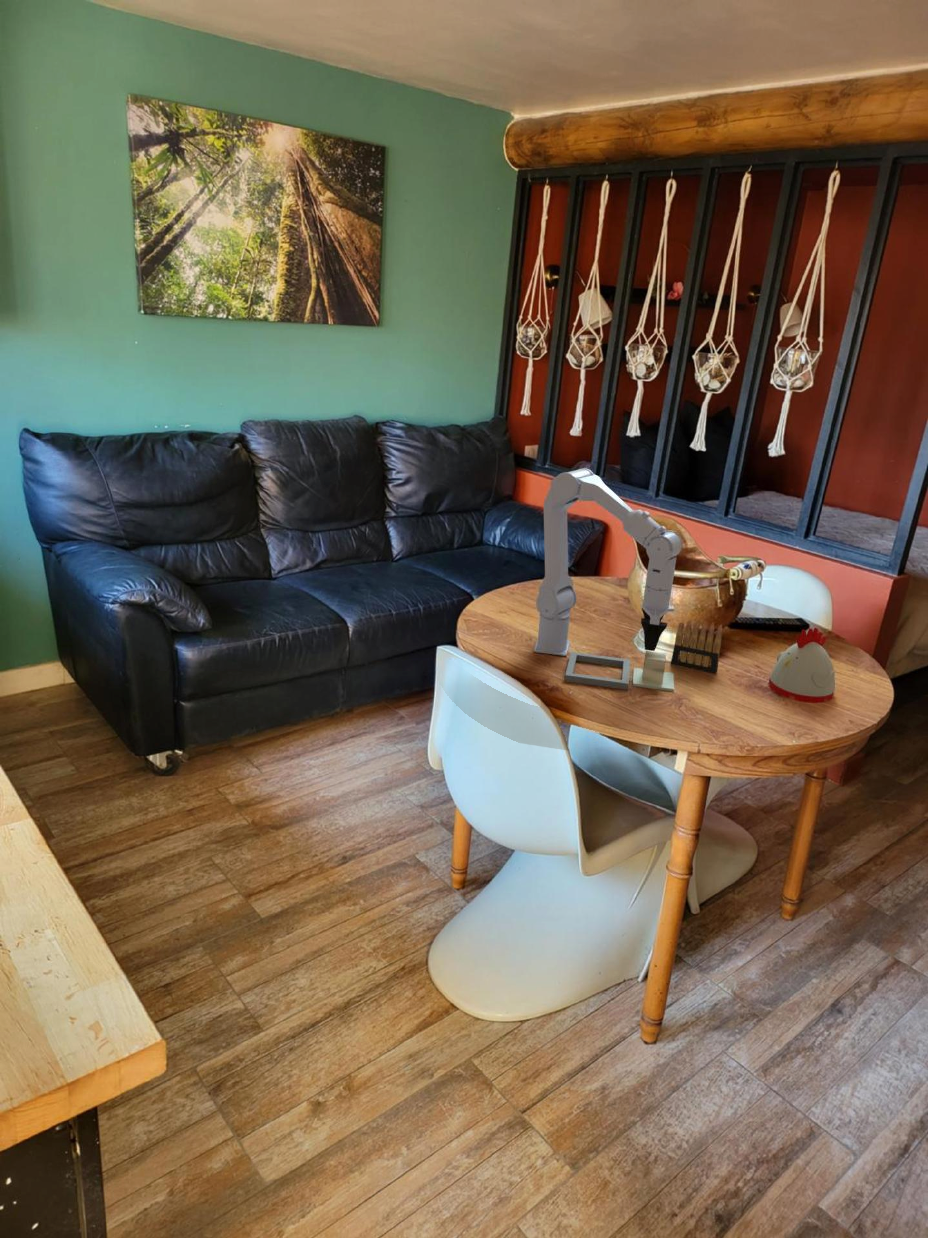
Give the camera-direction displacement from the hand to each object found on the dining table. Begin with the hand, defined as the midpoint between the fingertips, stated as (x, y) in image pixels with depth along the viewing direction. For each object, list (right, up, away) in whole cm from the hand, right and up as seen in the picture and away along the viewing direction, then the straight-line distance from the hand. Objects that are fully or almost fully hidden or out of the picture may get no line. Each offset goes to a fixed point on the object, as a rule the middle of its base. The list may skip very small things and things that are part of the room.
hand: (649, 643), depth 187 cm
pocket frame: (-11, -7, +4) cm, 14 cm away
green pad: (+1, -9, +2) cm, 9 cm away
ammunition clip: (+13, -6, +10) cm, 17 cm away
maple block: (+1, -8, +2) cm, 8 cm away
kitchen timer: (+35, -11, +2) cm, 36 cm away
